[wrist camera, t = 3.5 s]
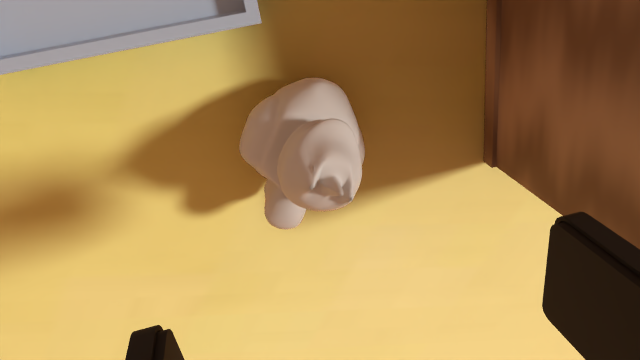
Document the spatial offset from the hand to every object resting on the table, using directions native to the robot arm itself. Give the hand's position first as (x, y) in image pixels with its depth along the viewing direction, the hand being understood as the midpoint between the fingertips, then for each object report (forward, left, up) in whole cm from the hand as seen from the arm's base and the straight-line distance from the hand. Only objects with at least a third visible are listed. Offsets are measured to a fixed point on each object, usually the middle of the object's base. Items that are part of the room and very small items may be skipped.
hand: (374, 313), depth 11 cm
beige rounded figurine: (0, 0, -13) cm, 13 cm away
